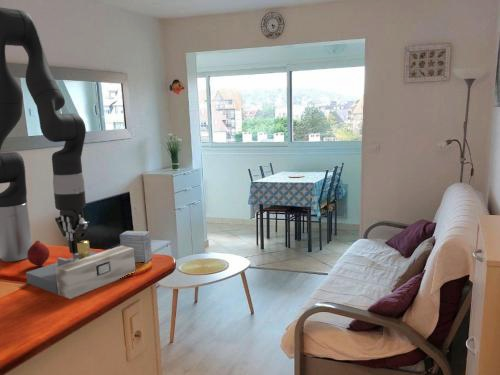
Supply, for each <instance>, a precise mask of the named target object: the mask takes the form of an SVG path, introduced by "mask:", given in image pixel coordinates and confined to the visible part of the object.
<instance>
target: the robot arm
mask: <svg viewBox="0 0 500 375" xmlns="http://www.w3.org/2000/svg"><path fill="white" fill-rule="evenodd" d="M6 46H14V47H16V46H17V47H22V48H23V50H24V51H25V52H26V54H27V57H28V61H27V62H28V63H27V67H26V70H25V77H24V78H25V85H26V87H27V90H28V92H29V94H30V97H31V98H32V100H33V102H34V103H35V106H36V109H37V114H38V115H37V116H38V119H39V127H40V131H41V134H42V135H43V137H44V138H45V139H46V140H48V141H49V142H52V143H59V142H60V143H62V142H64V145H63V148H61V149H60V150H57V151H55V152H53V153H52V155H51V162H52V163H51V164H52V172H53V173H52V174H53V177H52V178H53V179H52V186H53V196H54V207H55V209H56V210H58V211H59V216H56V217H55V218H54V220H55V223H56V224H57V227H58V228H59V230H60V232H61V235H62V237H66V240H67V241H68V249H69V253H70V254H71V255H73V254H76V253H78V249H77V242H79V241H80V240H81V239H83V238H85V236H86V234H87V232H88V230H89V228H90V226H91V222H90V221H86V220H85V218H84V217H85V216H84V211H83V209H84V208H85V207H86V205H87V203H86V201H87V200H86V190H85V180H84V176H83V165H82V164H83V163H82V153H83V148H84V143H85V138H86V133H87V131H86V124H85V122H84V119H83V118H82V117H81V116H80V115H79V114H77V113H58V112H57V111H59V110H61V109H62V108H63V107H64V106H65V104H66V99H65V97H64V95H63V93H62V91H61V89H60V87H59V85H58V83H57V81H56V79H55V77H54V75H53V74H52V71H51V68H50V65H49V62H48V60H47V56H46V53H45V50H44V47H43V44H42V42H41V38H40V36H39V32H38V29H37V26H36V24H35V22H34V19H33V17H31V15H30V14H29V13H28V12H27V11H25V10H20V9H15V8H14V9H13V8H8V7H7V8H6V7H0V151H1V150H2V146H3V143H4V142H5V140H6V139H7V138H8V136H9V135H10V134H11V132H12V131H13V129H14V128H15V127H16V126H17V125H18V124H19V122H20V120H21V118H22V115H23V104H24V103H23V102H24V97H23V90H22V88H21V86H20V84H19V82H18V81H17V80H16V78H15V76H14V75H13V74H12V72H11V70H10V68H9V66H8V64H7V59H6ZM26 181H27V179H26V166H25V161H24V159H23V157H22V155H21V154H20V153H19V152H16V151H11V152H9V151H8V152H7V151H6V152H0V184H1V185H2V184H7V183H9V185H8V187H7V188H5V189H4V190H3V191H1V192H0V261H2V262H16V261H22V260H26V259H28V257H27V253H28V250H29V248H30V247H31V246H32V245H33V238H32V230H31V223H30V215H29V206H28V200H27V196H28V195H27V194H28V192H27V182H26Z"/></svg>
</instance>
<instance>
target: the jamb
mask: <svg viewBox="0 0 500 375" xmlns="http://www.w3.org/2000/svg"><path fill="white" fill-rule="evenodd" d="M97 253H98V254H95V255H92V256H89V257H86V258H83V259H80V260H76V261H73V262H70V263H67V264H64V265H61V266H58V267H55V272H56V281H57V289H58V294H57V295H58V296H61V297H64V298H66V299H69V300H71V299H74V298H76V297H79V296H81V295H83V294H85V293H88V292H90V291H91V292H92V291H93V290H95V289H99V288H100V287H103V286H105V285H108V284H111V283H113V282H116V281H118V280H120V278H121V279H123V278H125V277H126V276H125V275H127V274H129V273H132V272H134V271H136V262H135V259H134V248H131V247H126V246H121V245H119V246H116V247H113V248H110V249H106V250H105V251H104V250H103V251H101V252H97ZM103 263H108V264H109V271H107V272H105V273H102V274H97V270H96V266H97V265H100V264H103ZM124 276H125V277H124ZM122 277H123V278H122Z"/></svg>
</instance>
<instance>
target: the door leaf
mask: <svg viewBox="0 0 500 375" xmlns="http://www.w3.org/2000/svg"><path fill="white" fill-rule="evenodd" d="M98 253H99V252H97V251H91V250H90V256H92V255H95V254H98ZM56 259H57V262H54V263H52V264H48V265H45V266H40V267H38V268H35V269H32V270H29V271H26V272H25V276H26V282H27V284H28V285H31V286H34V287H37V288H39V289H41V290H44V291H48V292H50V293H52V294H55V295H58V289H57V281H56V272H55V267H58V266H61V265H64V264H67V263H70V262H73V260H75V259H78V253H76V254H72V257H69V258H62V257H57V258H56Z"/></svg>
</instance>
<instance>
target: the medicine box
mask: <svg viewBox="0 0 500 375" xmlns="http://www.w3.org/2000/svg"><path fill="white" fill-rule="evenodd" d="M151 241H152V240H151V232H150V231H149V230H148V231H146V230H143V231H142V230H141V231H140V230H125V231H124V232H122V233H120V234H119V242H120V243H119V244H120V245H119V246H126V247H131V248H134V259H135V263H136V262H144V263H143V264H147V263H148V262H149V261H150V260H152V259H153V254H152V242H151Z"/></svg>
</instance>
